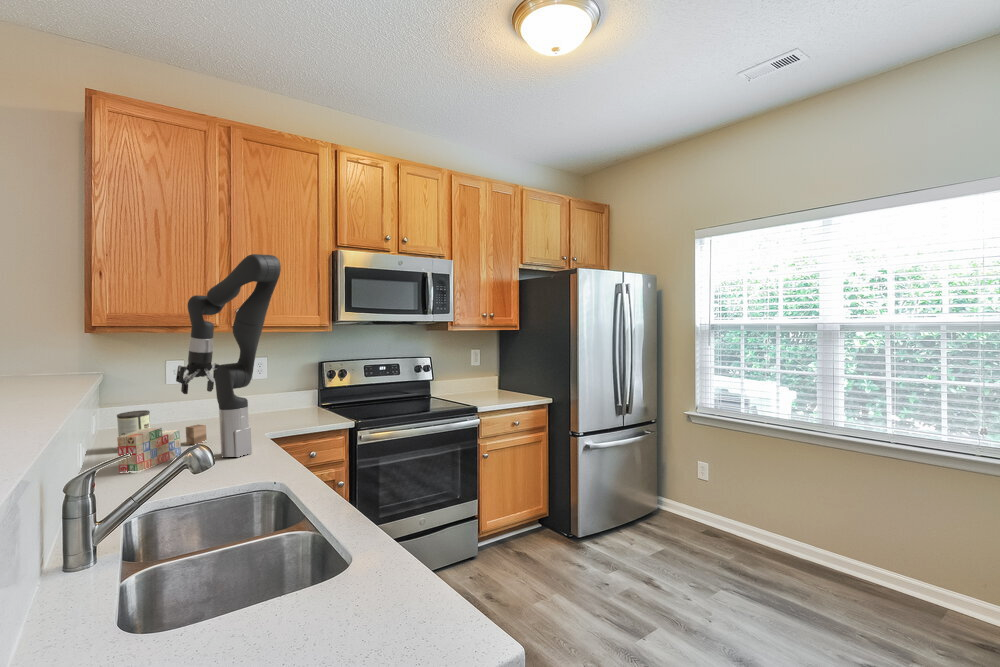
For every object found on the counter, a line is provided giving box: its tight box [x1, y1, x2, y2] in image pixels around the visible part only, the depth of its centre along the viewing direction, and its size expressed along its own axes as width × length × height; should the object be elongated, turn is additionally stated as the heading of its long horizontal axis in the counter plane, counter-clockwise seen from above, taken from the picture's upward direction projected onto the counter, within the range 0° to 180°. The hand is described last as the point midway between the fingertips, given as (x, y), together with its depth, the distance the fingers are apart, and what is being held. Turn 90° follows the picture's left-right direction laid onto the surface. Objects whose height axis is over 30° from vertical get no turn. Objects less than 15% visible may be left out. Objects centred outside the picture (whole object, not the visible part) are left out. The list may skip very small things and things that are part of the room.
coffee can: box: [116, 409, 151, 437], centre depth 192 cm, size 10×10×14 cm
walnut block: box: [185, 423, 208, 446], centre depth 198 cm, size 5×5×7 cm
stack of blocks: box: [117, 427, 182, 472], centre depth 170 cm, size 21×6×12 cm, turn 179°
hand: (197, 392), depth 182 cm, fingers open, 8 cm apart
